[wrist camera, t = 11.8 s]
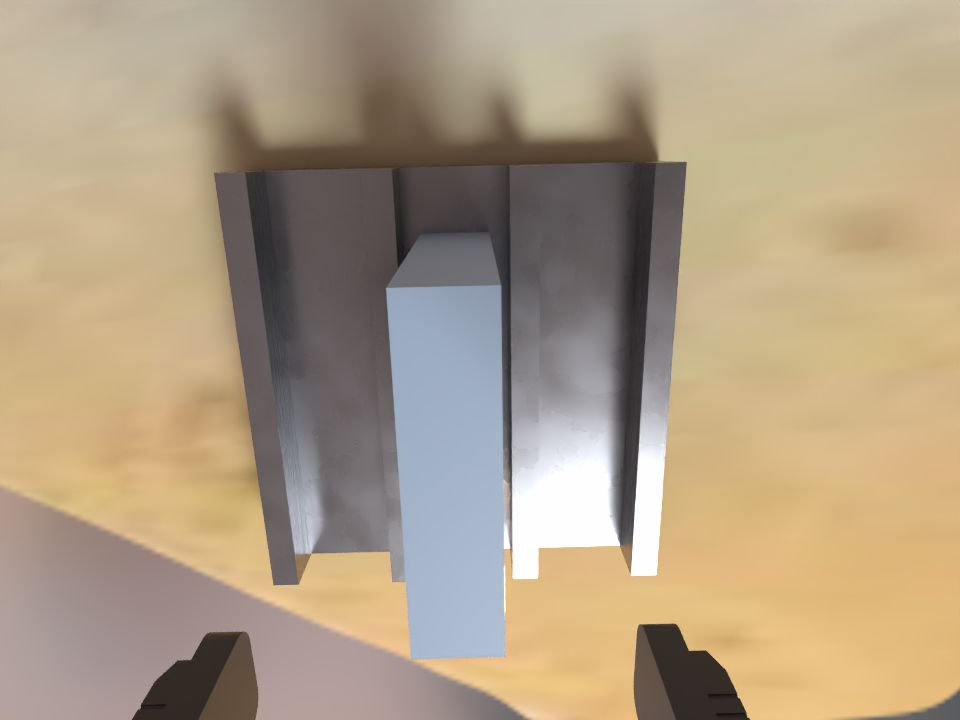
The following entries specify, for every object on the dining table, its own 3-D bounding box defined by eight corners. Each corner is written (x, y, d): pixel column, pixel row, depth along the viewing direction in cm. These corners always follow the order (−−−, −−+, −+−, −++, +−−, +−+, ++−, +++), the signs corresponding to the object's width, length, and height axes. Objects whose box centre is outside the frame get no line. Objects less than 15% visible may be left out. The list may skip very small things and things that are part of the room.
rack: (244, 170, 28) (186, 175, 22) (661, 161, 28) (709, 162, 22) (293, 542, 34) (256, 621, 28) (638, 533, 34) (671, 610, 28)
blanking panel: (420, 233, 28) (386, 287, 17) (489, 231, 28) (501, 285, 17) (433, 477, 32) (411, 659, 20) (493, 476, 32) (505, 656, 20)
